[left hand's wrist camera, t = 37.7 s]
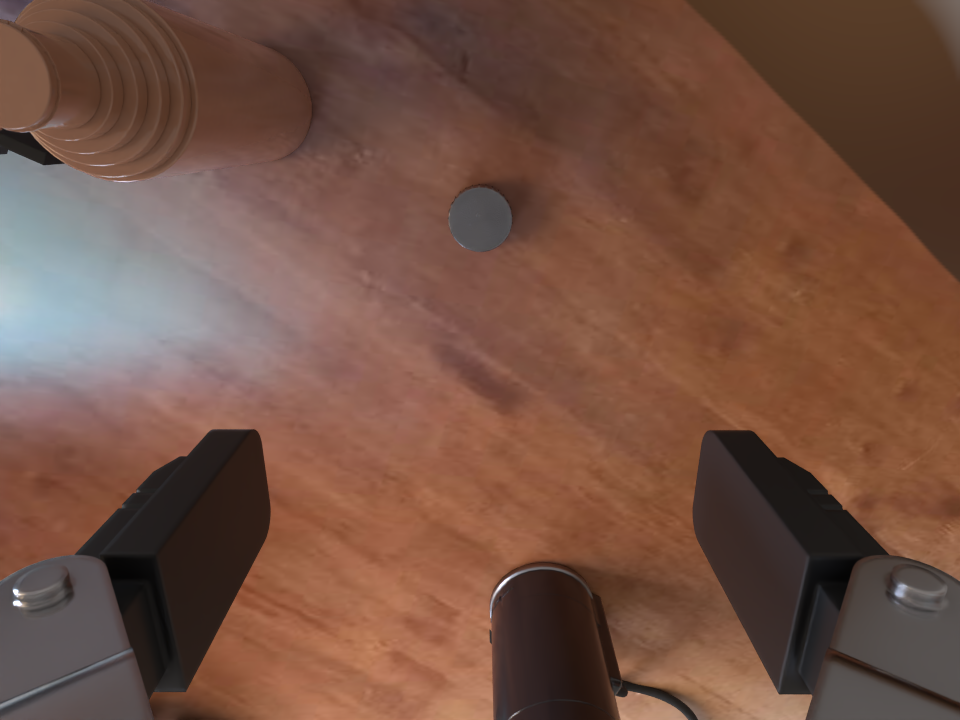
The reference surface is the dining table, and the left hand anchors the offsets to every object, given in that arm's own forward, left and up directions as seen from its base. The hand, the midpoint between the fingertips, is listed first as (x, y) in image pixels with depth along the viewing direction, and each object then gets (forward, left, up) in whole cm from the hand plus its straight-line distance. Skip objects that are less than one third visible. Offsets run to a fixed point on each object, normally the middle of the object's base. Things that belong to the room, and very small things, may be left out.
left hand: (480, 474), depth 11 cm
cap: (0, 0, -34) cm, 34 cm away
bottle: (+17, 0, -36) cm, 39 cm away
